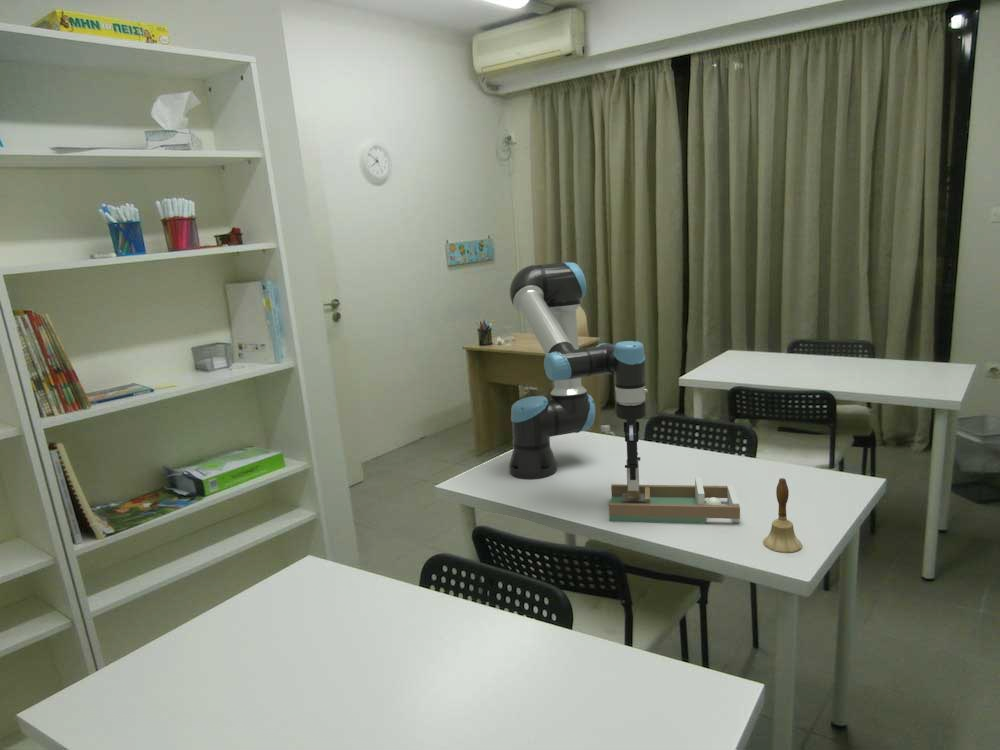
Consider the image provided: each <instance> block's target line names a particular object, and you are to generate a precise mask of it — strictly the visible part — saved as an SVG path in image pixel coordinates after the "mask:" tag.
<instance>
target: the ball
mask: <svg viewBox="0 0 1000 750" xmlns="http://www.w3.org/2000/svg"><path fill="white" fill-rule="evenodd" d="M705 505H723V504H722V502H721V500H720V498H715V497H711V498H707V500H706V502H705Z"/></svg>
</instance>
